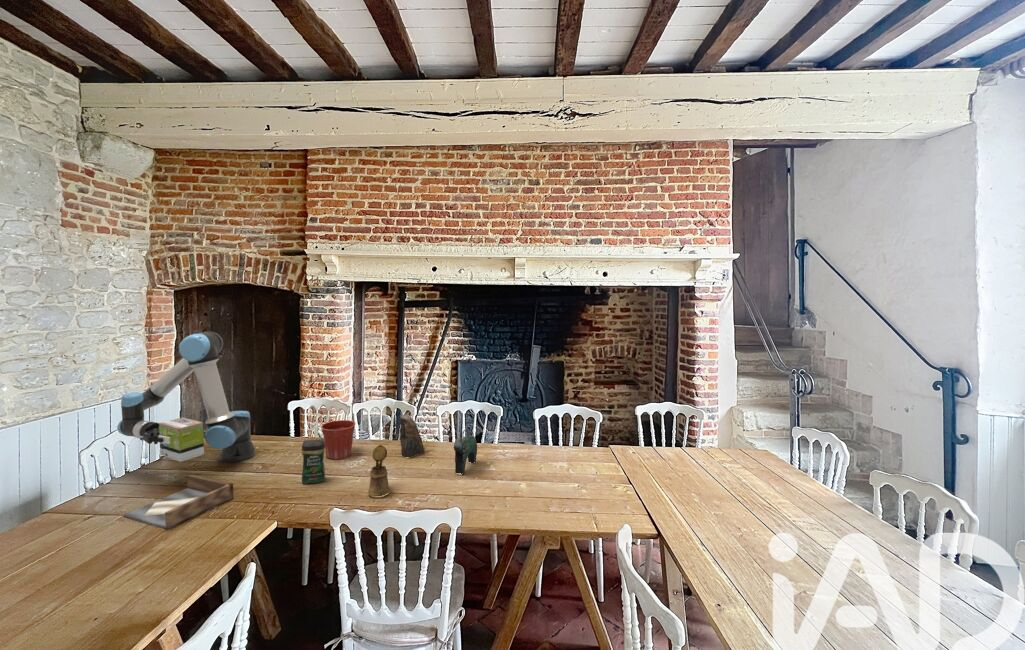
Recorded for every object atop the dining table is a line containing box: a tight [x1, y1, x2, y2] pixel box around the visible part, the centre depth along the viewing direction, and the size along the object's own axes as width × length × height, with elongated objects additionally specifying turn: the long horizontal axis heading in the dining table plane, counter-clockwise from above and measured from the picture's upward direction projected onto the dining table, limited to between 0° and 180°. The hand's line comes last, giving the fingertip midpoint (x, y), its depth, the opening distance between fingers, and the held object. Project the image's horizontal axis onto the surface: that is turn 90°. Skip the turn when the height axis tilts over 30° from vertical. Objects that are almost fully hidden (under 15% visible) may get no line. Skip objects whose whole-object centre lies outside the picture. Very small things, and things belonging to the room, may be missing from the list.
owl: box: [398, 412, 425, 458], centre depth 231 cm, size 13×13×20 cm
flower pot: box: [320, 419, 356, 460], centre depth 226 cm, size 16×16×16 cm
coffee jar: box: [301, 438, 326, 485], centre depth 196 cm, size 10×8×19 cm
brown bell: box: [367, 444, 391, 497], centre depth 188 cm, size 9×14×18 cm, turn 13°
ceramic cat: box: [453, 428, 478, 474], centre depth 213 cm, size 20×6×20 cm, turn 161°
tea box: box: [158, 416, 205, 463], centre depth 190 cm, size 15×10×15 cm
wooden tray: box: [123, 474, 234, 530], centre depth 172 cm, size 25×24×6 cm
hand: (183, 436), depth 190 cm, fingers closed on tea box, 10 cm apart
